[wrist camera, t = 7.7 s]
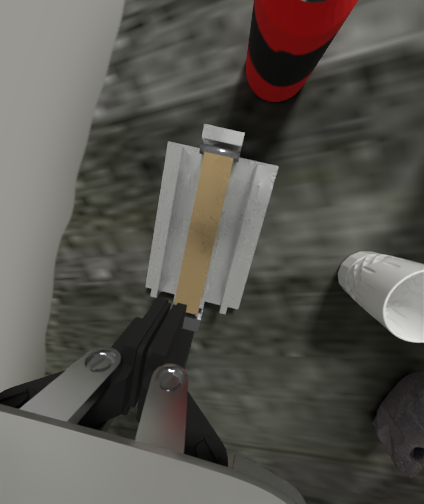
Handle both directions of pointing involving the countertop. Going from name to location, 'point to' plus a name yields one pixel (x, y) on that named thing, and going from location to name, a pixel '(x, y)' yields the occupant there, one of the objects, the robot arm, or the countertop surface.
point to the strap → (204, 223)
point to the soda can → (290, 43)
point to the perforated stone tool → (403, 423)
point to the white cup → (387, 291)
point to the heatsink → (229, 229)
